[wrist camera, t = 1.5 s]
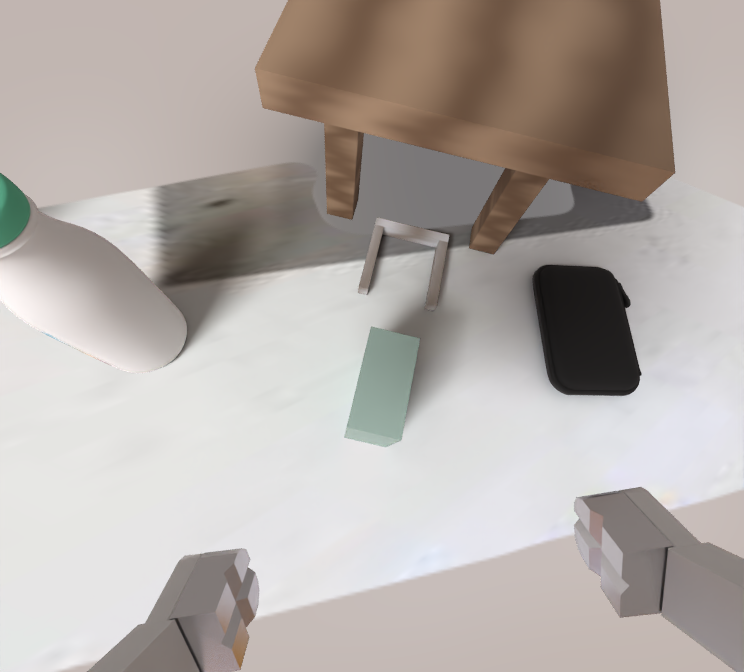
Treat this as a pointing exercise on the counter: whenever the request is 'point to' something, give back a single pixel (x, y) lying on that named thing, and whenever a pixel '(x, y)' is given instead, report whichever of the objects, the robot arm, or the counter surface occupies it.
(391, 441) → the sage rectangular block
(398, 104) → the walnut overhang shelf
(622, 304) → the carrying case or bag
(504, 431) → the counter surface
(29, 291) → the milk bottle
